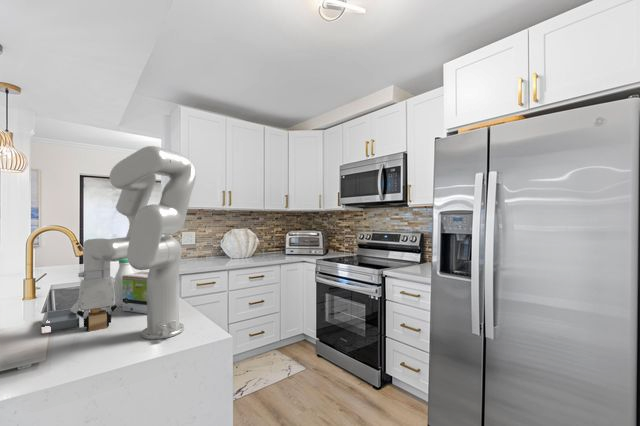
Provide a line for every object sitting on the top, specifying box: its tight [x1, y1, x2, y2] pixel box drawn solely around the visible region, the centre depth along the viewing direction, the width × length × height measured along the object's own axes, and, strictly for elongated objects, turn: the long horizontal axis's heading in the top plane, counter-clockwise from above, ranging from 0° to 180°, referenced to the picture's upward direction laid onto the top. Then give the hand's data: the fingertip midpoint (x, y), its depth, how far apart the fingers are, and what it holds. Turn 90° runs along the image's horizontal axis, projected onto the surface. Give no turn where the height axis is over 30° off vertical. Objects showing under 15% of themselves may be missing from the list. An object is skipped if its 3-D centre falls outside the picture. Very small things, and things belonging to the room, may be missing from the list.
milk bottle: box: [114, 258, 135, 308], centre depth 137 cm, size 8×8×20 cm
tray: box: [40, 306, 80, 334], centre depth 113 cm, size 17×10×3 cm, turn 38°
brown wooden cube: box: [88, 309, 108, 332], centre depth 109 cm, size 5×5×5 cm
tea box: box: [122, 270, 149, 315], centre depth 130 cm, size 15×10×15 cm, turn 73°
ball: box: [89, 308, 102, 314], centre depth 109 cm, size 3×3×3 cm
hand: (97, 326), depth 109 cm, fingers closed on brown wooden cube, 5 cm apart
